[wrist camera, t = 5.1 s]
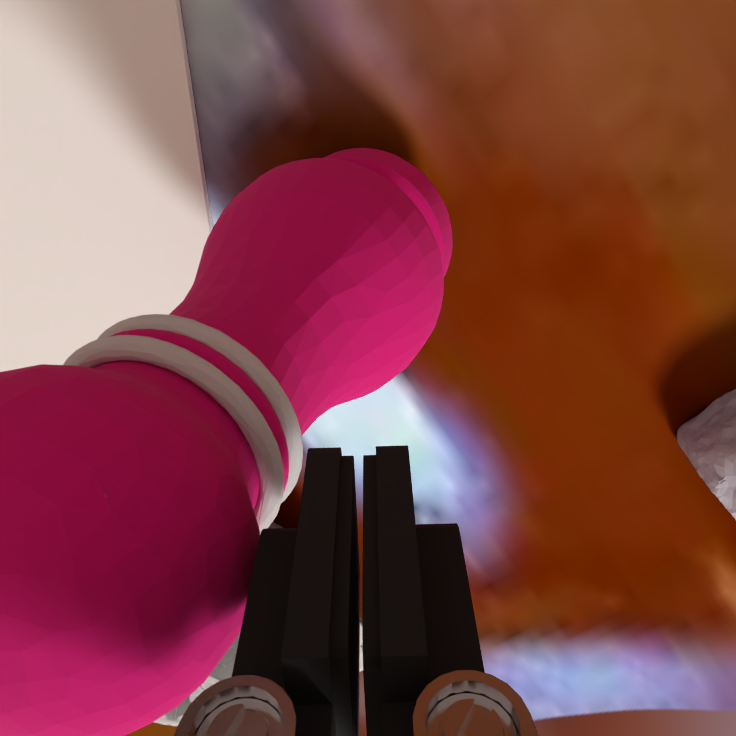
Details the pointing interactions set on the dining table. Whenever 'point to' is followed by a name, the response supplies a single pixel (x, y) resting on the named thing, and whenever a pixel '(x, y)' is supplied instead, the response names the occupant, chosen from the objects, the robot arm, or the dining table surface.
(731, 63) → the dining table surface
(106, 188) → the white mat
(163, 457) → the pepper mill
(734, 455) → the stone block
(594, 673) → the dining table surface
